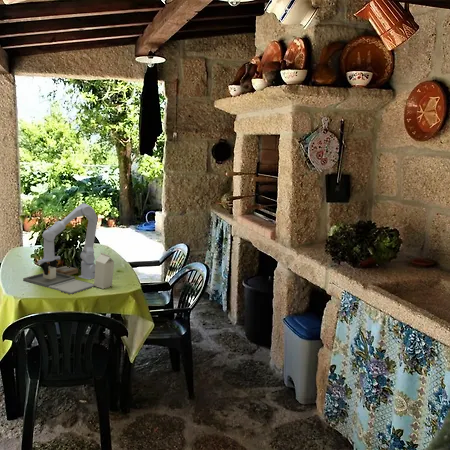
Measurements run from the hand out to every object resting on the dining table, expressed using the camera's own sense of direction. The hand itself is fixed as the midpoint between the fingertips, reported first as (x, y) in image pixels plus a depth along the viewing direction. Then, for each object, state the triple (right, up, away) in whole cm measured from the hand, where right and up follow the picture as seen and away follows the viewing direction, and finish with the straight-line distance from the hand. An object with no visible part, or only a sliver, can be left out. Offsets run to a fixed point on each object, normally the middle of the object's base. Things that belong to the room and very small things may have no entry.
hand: (49, 273), depth 290 cm
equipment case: (+7, -5, -4) cm, 10 cm away
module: (0, -2, 0) cm, 2 cm away
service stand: (+4, -2, +16) cm, 17 cm away
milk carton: (+32, -7, -5) cm, 33 cm away
